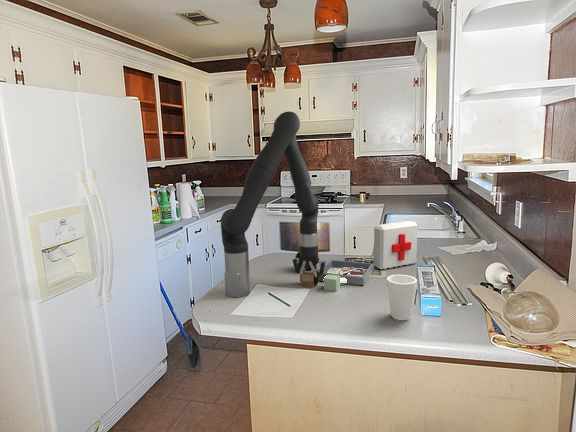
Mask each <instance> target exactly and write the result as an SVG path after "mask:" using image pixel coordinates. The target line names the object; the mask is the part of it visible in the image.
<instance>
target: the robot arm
mask: <svg viewBox="0 0 576 432" xmlns="http://www.w3.org/2000/svg"><path fill="white" fill-rule="evenodd" d="M300 126H301V120H300V118H299V115H298V114H297V113H296V112H294V111H284V112H281V113H280V114H279V115H278V116H277V117H276V119H275V120H274V122H273V130H272V133H271V135H270V137H269V139H268V140H267V142H266V144H265V145H264V146H263V148H262V149H261V150H260V152H259V153H258V155H256V158H255V159H254V161H253V163H252V164H251V167H250V168H249V170H248V171H247V174H246V178H245V181H244V185H243V190H242V194H241V196H240V198H239V201H238V202H237V204H236V206H235V207H234V208H229V209H226V210H225V211H224V212H223V213H222V215H221V219H220V230H221V233H220V234H221V241H222V245H223V250H224V251H223V252H224V255H223V256H224V269H225V270H224V289H225V290H224V291H225V296H226V297H232V298H238V299H240V298H242V297H246V296H248V295H250V294H251V281H250V264H249V263H250V261H249V243H248V241H247V238H246V234H245V233H246V232H247V231H248V230H249V227H250V225H251V224H252V220H253V218H254V216H255V213H256V210H257V208H258V206H259V203H260V202H261V200H262V199H263V197H264V195H265V194H266V191H267V189H268V187H269V186H270V184H271V182H272V180H273V178H274V177H275V175H276V172H277V170H278V169H279V168H278V167H279V165H280V163H281V161H282V159H283V158H284V157H283V156H284V155H285V159H286V162H287V167H288V169H289V174H290V177H291V180H292V183H293V186H294V194H295V202H296V206H297V208H298V210H299V211H300V212H301V218H300V220H299V238H298V239H299V244H298V246H299V251H300V257H299V258H295V257H294V258H293V259H292V264H293V267H294V271H295V273H296V274H297V275H299V280H300V283H301V274H303V273H304V272H305V269H306V268H309V269H312V270H311V272H313V273H314V276H315V277H314V285H315V286H317V285H318V284H319V282H320V281H319V276H321V275H322V274H323V272H324V268H325V265H326V264H327V261H326V260H321V259H320V257H319V237H318V236H319V235H318V217H319V200H318V198H317V196H316V195H315V194H313V193H312V189H311V188H312V179H311V177H310V176H311V175H310V172H309V169H308V166H307V163H306V161H305V159H304V156H303V155H302V153H301V151H300V147H299V144H298V140H297V133H298V131H299V130H300ZM299 261H300V262H301V264H302V267H301V270H300V267H299ZM318 264H319V265H318ZM318 266H319V268H318ZM318 271H319V272H318Z"/></svg>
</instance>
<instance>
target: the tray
mask: <svg viewBox="0 0 576 432" xmlns="http://www.w3.org/2000/svg"><path fill="white" fill-rule="evenodd" d="M342 267H354V268H363V269H367V270H366V272H365V273H364V274H363V276H362V277H359V276H350V275H341V274H332V273H327V271H328V270H329V269H330V268H342ZM373 270H375V266H374V263H370V262H359V261H348V260H337V259H330V260H329V261H328V262H326V264H325V268H324V272H323V274H322V275H321V276H319V282H324V281H323V279H324V277H325V276H326V275H328V274H329V275H338V276H341V277H345V278H346V279H347V283H348V284H347V285H350V284H354V285H353V286H358V285H364V284H365V285H366V283H367V282H368V280H369V279H368V277H369V275H370V274H371V272H372V271H373ZM318 272H319V270H318ZM369 278H370V277H369ZM367 279H368V280H367ZM366 281H367V282H366ZM365 282H366V283H365ZM365 285H364V286H365Z"/></svg>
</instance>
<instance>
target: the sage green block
mask: <svg viewBox="0 0 576 432" xmlns="http://www.w3.org/2000/svg"><path fill="white" fill-rule="evenodd" d="M340 288H341V283H340V276H338V275H329V274H328V275H327V276H326V277H325V278H324V281H323V290H324V291H326V292H327V291H328V292H335V293H337V291H339V289H340Z"/></svg>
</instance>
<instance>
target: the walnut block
mask: <svg viewBox="0 0 576 432" xmlns="http://www.w3.org/2000/svg"><path fill="white" fill-rule="evenodd" d="M314 277H315V276H314V273H313V272H312V270H310V271H305V272H304V273H303V274H301V282H300V284H301V286H300V287H303V288H311V289H312V288H315V286H316V285H314Z"/></svg>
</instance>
